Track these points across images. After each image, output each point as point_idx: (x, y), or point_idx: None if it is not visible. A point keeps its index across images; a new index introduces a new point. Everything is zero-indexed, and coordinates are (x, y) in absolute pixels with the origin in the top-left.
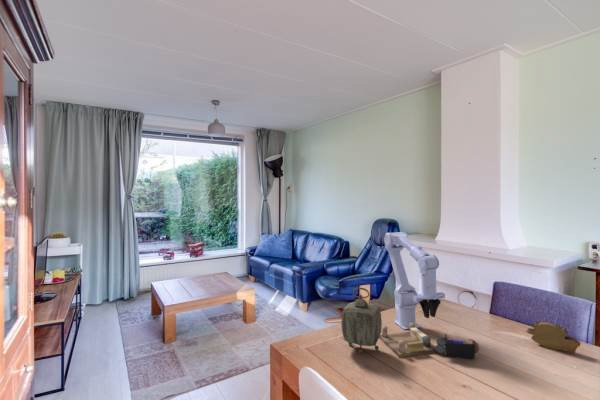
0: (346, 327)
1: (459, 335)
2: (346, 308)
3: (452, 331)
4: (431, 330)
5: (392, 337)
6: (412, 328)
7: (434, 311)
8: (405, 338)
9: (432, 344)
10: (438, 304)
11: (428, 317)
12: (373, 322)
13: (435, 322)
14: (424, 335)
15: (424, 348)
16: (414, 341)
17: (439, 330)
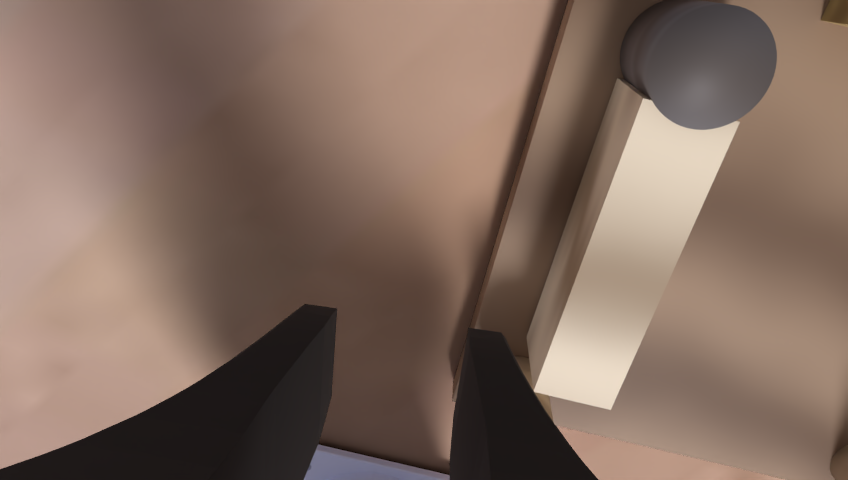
0: None
1: (7, 111)
2: None
3: (19, 223)
4: (228, 347)
5: (821, 406)
6: (595, 388)
7: (291, 373)
8: (720, 321)
9: (573, 39)
10: (49, 478)
11: (483, 334)
12: None
13: (56, 444)
14: (656, 150)
15: (779, 1)
16: (701, 215)
17: (144, 308)
